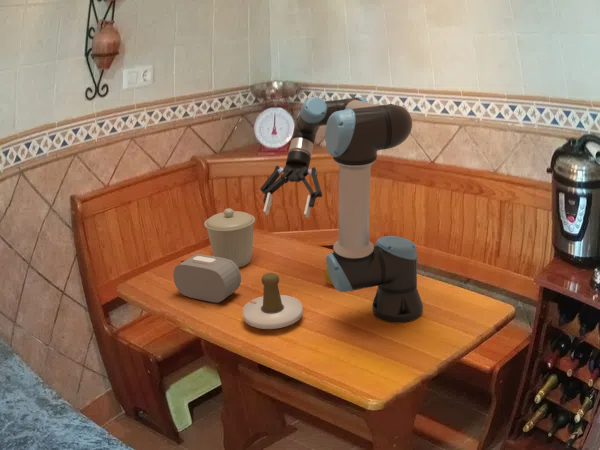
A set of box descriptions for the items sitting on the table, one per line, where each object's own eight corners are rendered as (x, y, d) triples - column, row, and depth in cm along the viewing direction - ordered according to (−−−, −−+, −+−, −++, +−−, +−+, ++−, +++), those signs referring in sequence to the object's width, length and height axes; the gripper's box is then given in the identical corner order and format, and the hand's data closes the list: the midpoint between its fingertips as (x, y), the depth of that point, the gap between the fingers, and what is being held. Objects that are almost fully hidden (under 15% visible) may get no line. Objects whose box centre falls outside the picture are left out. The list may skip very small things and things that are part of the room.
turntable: (314, 308, 207) (313, 301, 206) (278, 334, 193) (278, 327, 193) (267, 295, 217) (267, 289, 216) (231, 319, 204) (230, 312, 203)
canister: (209, 255, 256) (203, 203, 248) (257, 251, 257) (252, 198, 250) (208, 275, 239) (202, 219, 231) (260, 270, 240) (255, 214, 233)
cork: (280, 312, 201) (277, 279, 197) (260, 311, 202) (257, 278, 198) (284, 303, 207) (282, 270, 203) (265, 302, 208) (262, 269, 204)
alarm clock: (243, 294, 224) (239, 257, 219) (227, 307, 216) (223, 268, 211) (193, 284, 233) (188, 248, 228) (176, 296, 225) (170, 259, 221)
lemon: (338, 280, 229) (337, 258, 226) (344, 286, 224) (343, 264, 221) (322, 283, 228) (321, 261, 225) (328, 289, 223) (327, 267, 220)
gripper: (339, 162, 218) (326, 222, 211) (268, 159, 227) (253, 216, 219) (333, 150, 212) (320, 211, 204) (260, 148, 220) (245, 206, 213)
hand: (285, 214), depth 212 cm, fingers open, 13 cm apart
